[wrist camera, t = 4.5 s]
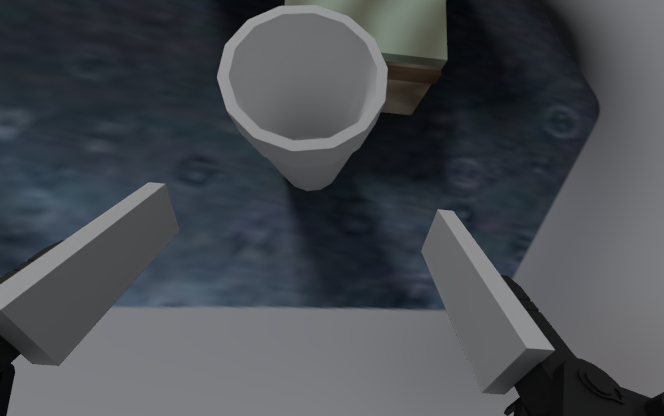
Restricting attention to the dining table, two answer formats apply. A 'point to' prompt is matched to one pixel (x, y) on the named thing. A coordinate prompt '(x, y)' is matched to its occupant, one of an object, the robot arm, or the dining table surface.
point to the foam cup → (303, 89)
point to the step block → (400, 43)
